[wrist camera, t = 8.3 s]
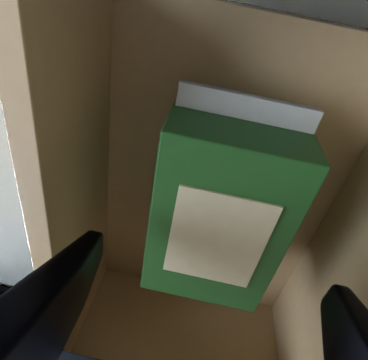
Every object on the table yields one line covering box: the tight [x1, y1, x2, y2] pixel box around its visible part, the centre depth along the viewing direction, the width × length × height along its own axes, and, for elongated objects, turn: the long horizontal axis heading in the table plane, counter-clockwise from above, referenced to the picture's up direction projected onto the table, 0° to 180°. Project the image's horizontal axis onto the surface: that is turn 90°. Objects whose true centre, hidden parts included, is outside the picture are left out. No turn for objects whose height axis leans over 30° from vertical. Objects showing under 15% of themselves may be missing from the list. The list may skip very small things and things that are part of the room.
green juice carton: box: [140, 79, 331, 312], centre depth 12 cm, size 9×5×4 cm, turn 171°
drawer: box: [0, 0, 368, 360], centre depth 11 cm, size 23×13×7 cm, turn 171°
